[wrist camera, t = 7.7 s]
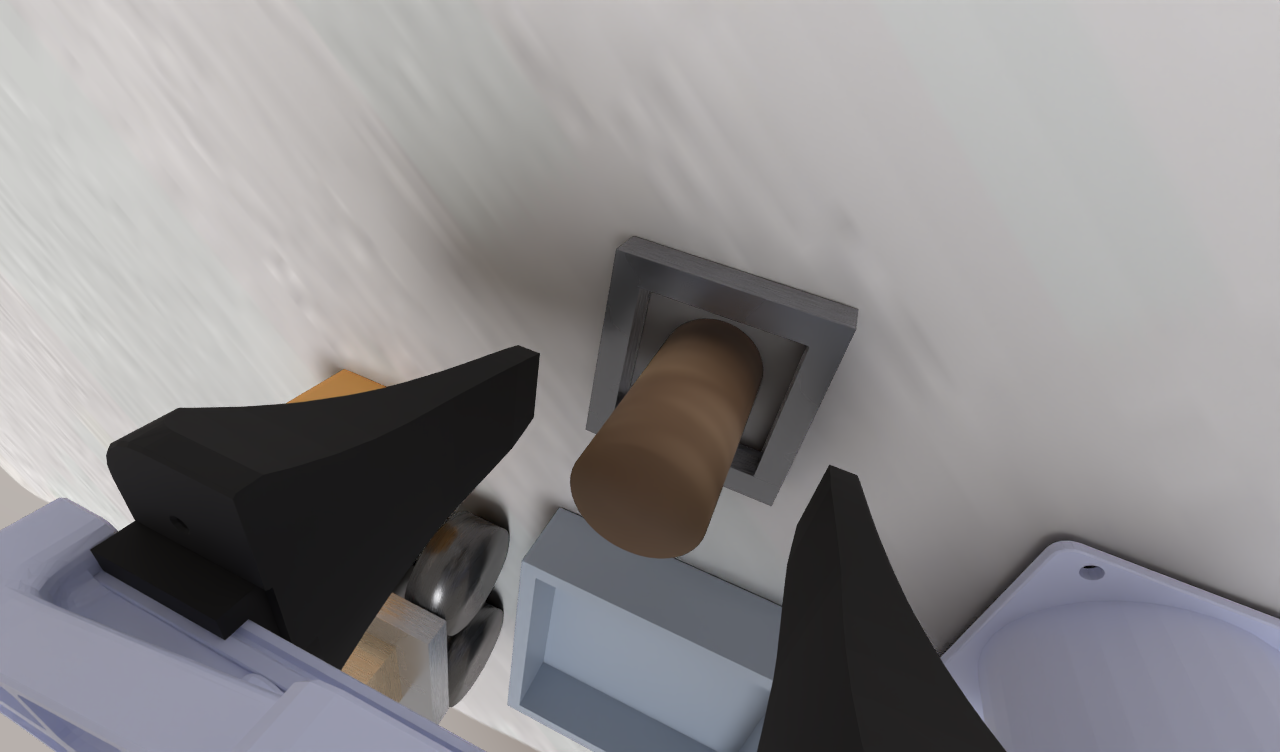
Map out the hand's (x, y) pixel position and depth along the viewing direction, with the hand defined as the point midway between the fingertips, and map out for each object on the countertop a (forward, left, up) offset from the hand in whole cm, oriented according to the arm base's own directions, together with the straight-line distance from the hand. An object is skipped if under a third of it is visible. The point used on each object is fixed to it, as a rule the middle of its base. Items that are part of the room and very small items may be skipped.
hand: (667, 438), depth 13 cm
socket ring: (0, 0, -4) cm, 4 cm away
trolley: (+9, +15, -4) cm, 18 cm away
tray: (-2, +14, -4) cm, 15 cm away
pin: (0, 0, -4) cm, 4 cm away
